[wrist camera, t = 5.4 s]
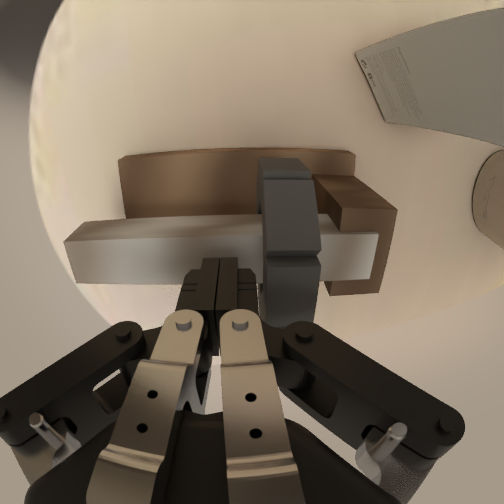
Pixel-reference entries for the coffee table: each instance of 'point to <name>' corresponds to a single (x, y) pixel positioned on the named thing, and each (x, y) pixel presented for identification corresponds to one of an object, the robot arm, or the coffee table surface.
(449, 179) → the coffee table surface
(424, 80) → the skincare box
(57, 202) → the coffee table surface
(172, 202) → the pipe stand
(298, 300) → the o ring
